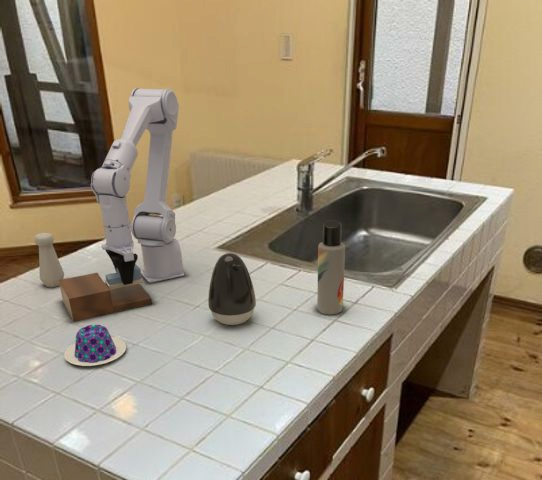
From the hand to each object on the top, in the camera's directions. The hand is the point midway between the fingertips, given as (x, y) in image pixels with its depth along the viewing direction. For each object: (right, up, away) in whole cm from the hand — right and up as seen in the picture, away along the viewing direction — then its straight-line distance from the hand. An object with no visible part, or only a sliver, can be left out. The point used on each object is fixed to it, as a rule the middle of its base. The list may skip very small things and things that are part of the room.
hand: (125, 280), depth 142 cm
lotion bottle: (+47, -7, -6) cm, 48 cm away
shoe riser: (-4, -5, 0) cm, 7 cm away
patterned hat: (-1, -17, -21) cm, 27 cm away
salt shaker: (-21, 0, +11) cm, 23 cm away
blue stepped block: (0, -1, 0) cm, 1 cm away
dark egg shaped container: (+26, -10, -9) cm, 29 cm away
